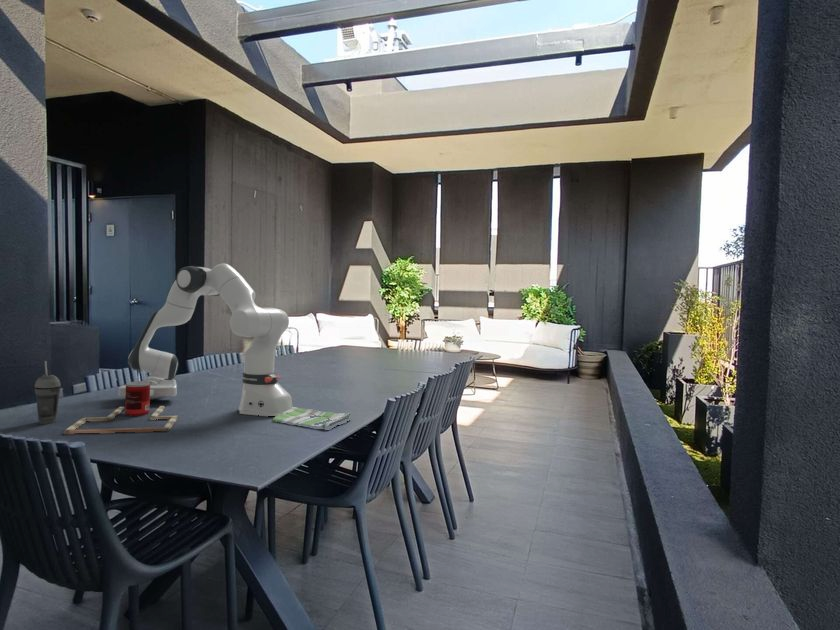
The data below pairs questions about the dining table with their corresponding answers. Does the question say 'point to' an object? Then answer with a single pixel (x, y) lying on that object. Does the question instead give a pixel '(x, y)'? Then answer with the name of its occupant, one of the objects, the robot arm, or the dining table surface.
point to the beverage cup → (47, 397)
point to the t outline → (153, 417)
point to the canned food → (137, 398)
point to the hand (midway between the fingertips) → (144, 394)
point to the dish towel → (304, 418)
